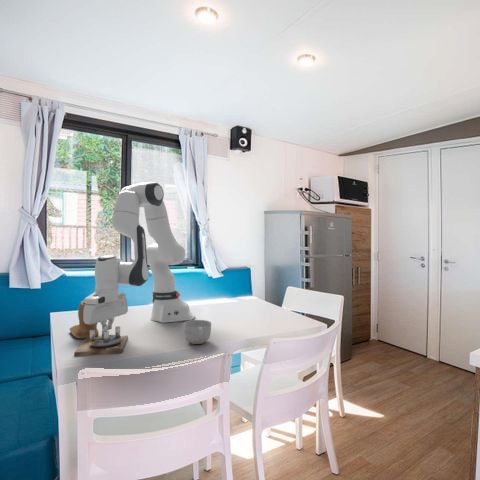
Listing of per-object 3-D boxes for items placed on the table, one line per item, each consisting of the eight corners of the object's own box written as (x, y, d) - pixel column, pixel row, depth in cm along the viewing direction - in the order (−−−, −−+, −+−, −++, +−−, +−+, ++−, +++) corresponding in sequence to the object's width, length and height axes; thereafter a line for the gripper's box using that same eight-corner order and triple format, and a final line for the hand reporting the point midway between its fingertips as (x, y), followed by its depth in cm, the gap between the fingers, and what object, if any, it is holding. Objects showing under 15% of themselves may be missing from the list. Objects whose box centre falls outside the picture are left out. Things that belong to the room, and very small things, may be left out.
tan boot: (106, 337, 139) (105, 301, 139) (75, 342, 132) (74, 305, 132) (97, 329, 152) (97, 296, 151) (69, 333, 145) (68, 299, 145)
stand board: (127, 339, 136) (127, 334, 136) (121, 353, 120) (121, 348, 119) (86, 341, 133) (86, 337, 133) (74, 356, 116) (74, 351, 116)
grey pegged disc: (119, 337, 133) (118, 323, 133) (122, 345, 123) (122, 330, 123) (88, 341, 128) (88, 326, 128) (89, 350, 118) (89, 334, 118)
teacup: (185, 338, 137) (185, 319, 137) (211, 337, 138) (211, 318, 138) (182, 349, 123) (182, 328, 123) (211, 348, 124) (211, 327, 124)
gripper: (119, 291, 143) (120, 322, 143) (80, 299, 124) (80, 336, 125) (131, 292, 141) (131, 324, 141) (92, 301, 122) (93, 338, 122)
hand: (107, 329), depth 132 cm, fingers closed
